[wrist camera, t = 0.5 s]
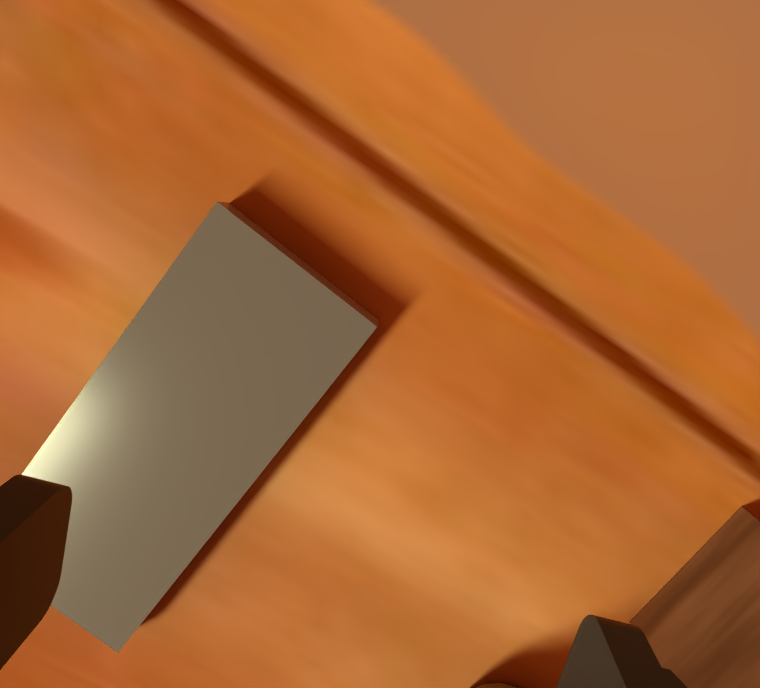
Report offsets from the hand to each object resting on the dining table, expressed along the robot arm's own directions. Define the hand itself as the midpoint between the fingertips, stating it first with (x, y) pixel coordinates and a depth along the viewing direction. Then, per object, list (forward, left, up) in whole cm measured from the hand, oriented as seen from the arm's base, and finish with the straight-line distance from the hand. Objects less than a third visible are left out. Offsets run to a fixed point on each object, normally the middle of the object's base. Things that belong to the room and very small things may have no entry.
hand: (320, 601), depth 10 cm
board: (-11, +10, -30) cm, 33 cm away
